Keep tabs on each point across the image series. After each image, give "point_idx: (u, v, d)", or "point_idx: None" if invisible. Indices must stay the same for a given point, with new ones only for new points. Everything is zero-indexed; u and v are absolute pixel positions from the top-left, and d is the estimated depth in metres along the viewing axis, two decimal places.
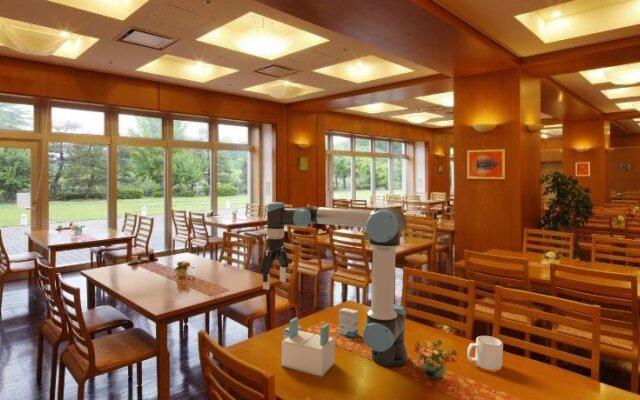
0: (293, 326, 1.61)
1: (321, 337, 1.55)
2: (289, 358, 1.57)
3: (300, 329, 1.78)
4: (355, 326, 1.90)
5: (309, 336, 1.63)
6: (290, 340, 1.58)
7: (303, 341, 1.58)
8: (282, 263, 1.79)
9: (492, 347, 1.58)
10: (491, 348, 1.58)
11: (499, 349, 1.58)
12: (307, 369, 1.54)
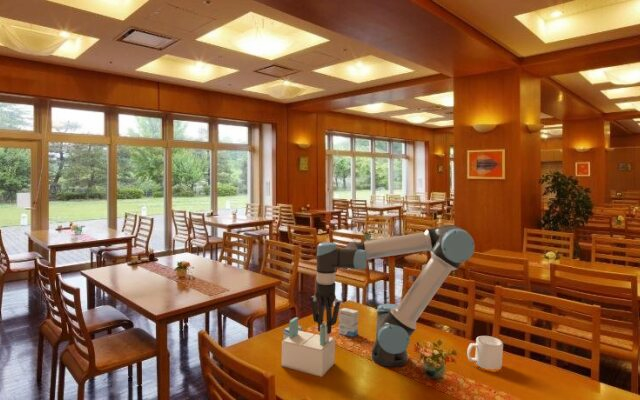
0: (293, 326, 1.61)
1: (321, 337, 1.55)
2: (289, 358, 1.57)
3: (300, 329, 1.78)
4: (355, 326, 1.90)
5: (309, 336, 1.63)
6: (290, 340, 1.58)
7: (303, 341, 1.58)
8: None
9: (492, 347, 1.58)
10: (491, 348, 1.58)
11: (499, 349, 1.58)
12: (307, 369, 1.54)
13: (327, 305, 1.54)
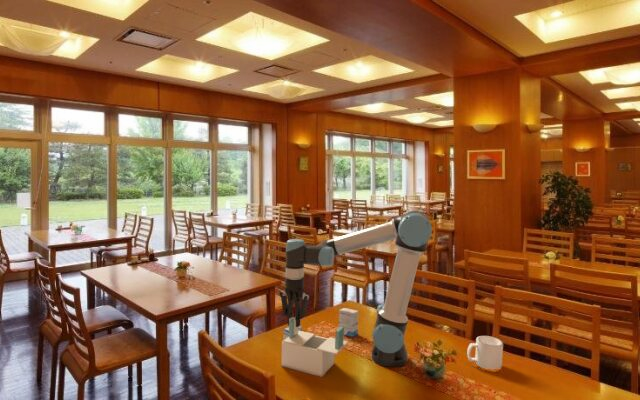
0: (293, 326, 1.61)
1: (336, 340, 1.52)
2: (289, 358, 1.57)
3: (300, 329, 1.78)
4: (355, 326, 1.90)
5: (309, 336, 1.63)
6: (290, 340, 1.58)
7: (303, 341, 1.58)
8: None
9: (492, 347, 1.58)
10: (491, 348, 1.58)
11: (499, 349, 1.58)
12: (307, 369, 1.54)
13: (295, 299, 1.60)
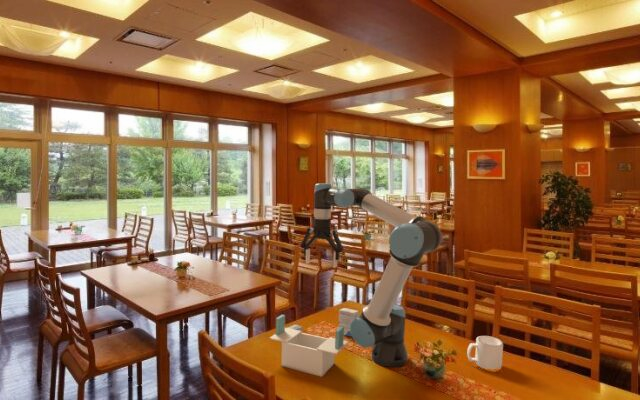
0: (280, 323, 1.64)
1: (336, 340, 1.52)
2: (289, 358, 1.57)
3: (300, 329, 1.78)
4: None
5: (295, 333, 1.66)
6: (276, 337, 1.61)
7: (289, 338, 1.61)
8: None
9: (492, 347, 1.58)
10: (491, 348, 1.58)
11: (499, 349, 1.58)
12: (307, 369, 1.54)
13: (326, 237, 1.74)
